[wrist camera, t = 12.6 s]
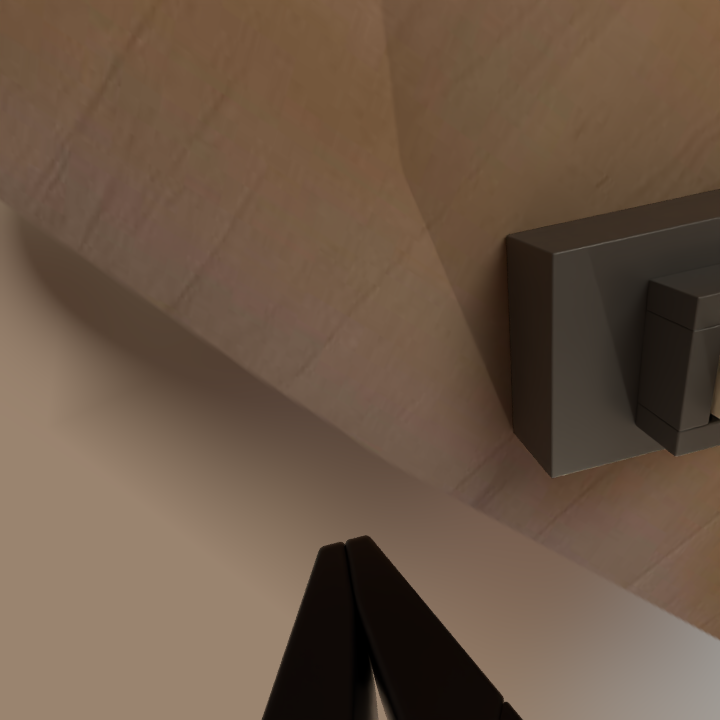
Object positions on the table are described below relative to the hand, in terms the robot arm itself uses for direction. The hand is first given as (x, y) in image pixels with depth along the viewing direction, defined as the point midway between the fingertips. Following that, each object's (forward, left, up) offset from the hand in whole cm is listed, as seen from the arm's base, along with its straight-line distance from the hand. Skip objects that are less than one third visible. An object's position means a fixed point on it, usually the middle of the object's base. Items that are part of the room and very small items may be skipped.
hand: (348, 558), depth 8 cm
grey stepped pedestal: (+11, -12, -13) cm, 21 cm away
